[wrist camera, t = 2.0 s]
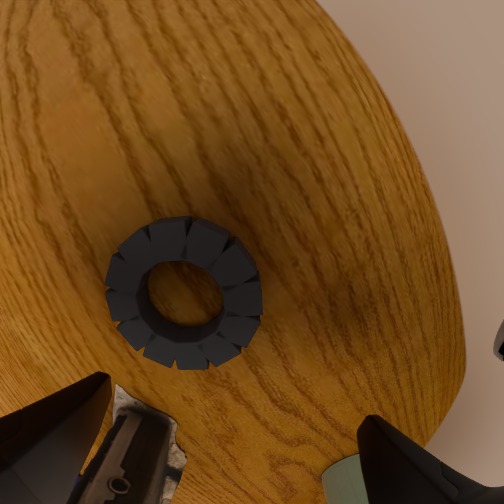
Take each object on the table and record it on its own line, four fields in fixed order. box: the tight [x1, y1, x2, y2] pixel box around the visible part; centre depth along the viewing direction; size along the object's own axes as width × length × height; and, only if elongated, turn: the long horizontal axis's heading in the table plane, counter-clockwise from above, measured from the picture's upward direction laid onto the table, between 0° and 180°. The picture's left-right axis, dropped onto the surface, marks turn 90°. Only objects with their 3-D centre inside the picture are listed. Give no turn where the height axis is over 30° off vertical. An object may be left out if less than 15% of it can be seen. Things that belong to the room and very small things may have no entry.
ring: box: [105, 216, 263, 370], centre depth 15 cm, size 9×9×2 cm
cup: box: [321, 454, 369, 504], centre depth 18 cm, size 7×7×9 cm
